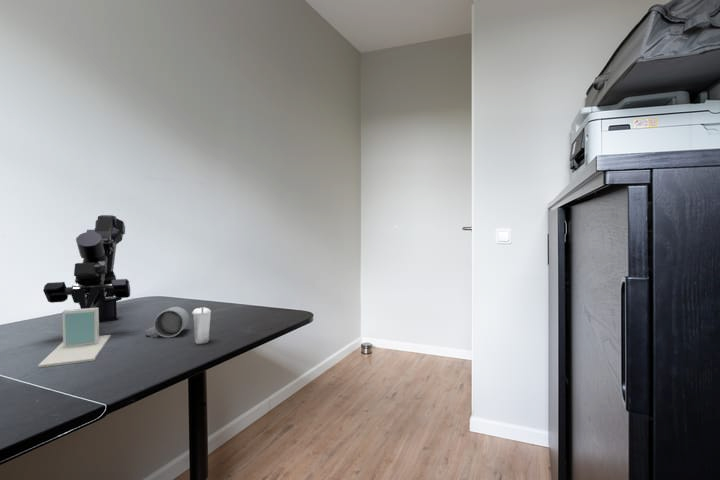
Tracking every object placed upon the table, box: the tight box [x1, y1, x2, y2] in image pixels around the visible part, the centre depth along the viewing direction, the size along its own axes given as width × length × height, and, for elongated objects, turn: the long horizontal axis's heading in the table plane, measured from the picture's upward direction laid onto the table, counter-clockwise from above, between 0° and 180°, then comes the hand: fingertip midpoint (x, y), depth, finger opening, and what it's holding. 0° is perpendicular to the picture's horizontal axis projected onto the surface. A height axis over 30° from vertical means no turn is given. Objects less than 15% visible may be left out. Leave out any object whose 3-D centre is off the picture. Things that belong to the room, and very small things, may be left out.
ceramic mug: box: [145, 306, 190, 339], centre depth 104 cm, size 11×8×8 cm
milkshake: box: [191, 306, 212, 345], centre depth 96 cm, size 4×5×10 cm
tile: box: [61, 308, 100, 348], centre depth 92 cm, size 2×7×9 cm, turn 116°
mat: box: [37, 334, 112, 369], centre depth 90 cm, size 20×10×1 cm, turn 26°
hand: (84, 316), depth 95 cm, fingers closed
